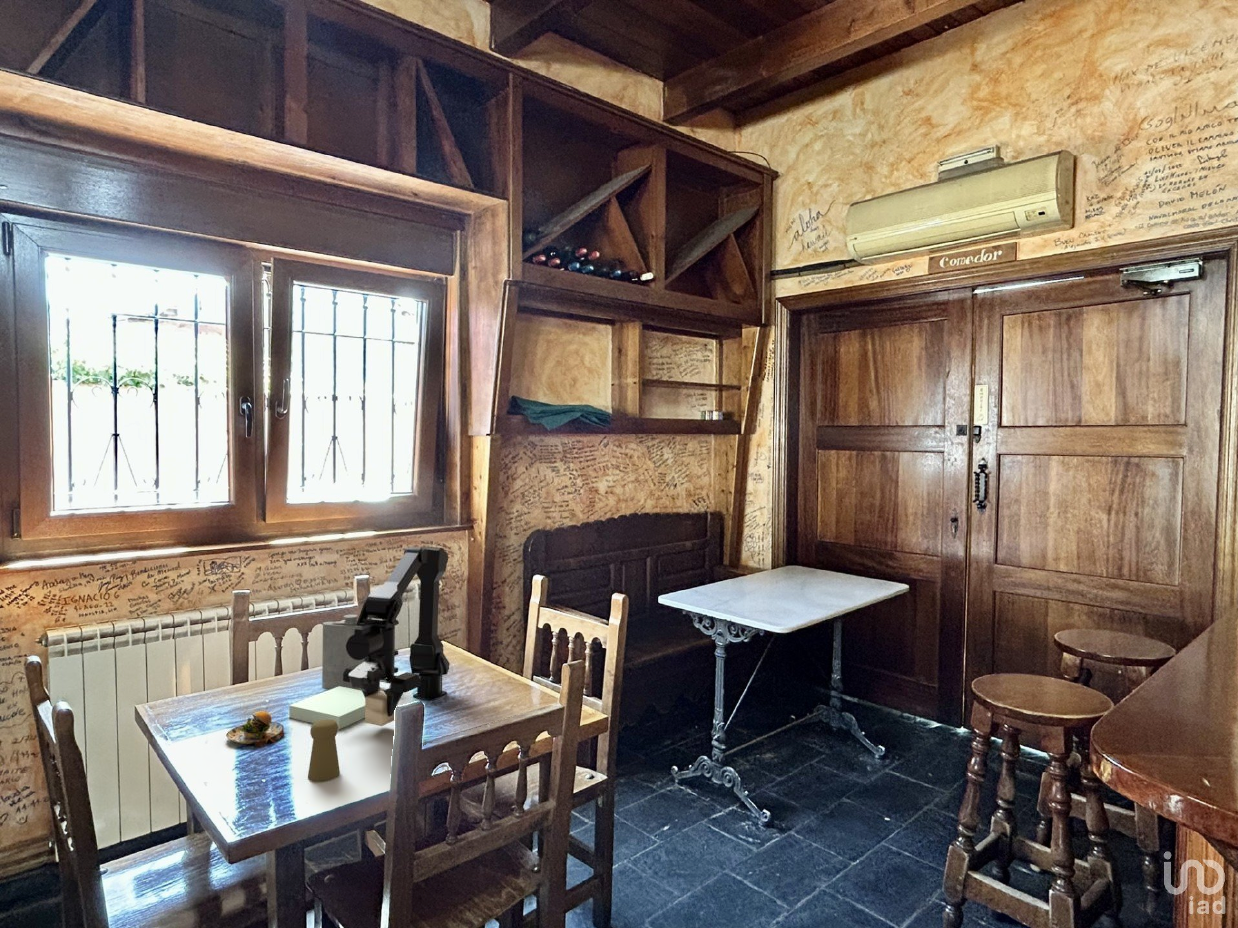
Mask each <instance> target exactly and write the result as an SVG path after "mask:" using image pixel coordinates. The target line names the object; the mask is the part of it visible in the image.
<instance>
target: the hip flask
mask: <svg viewBox="0 0 1238 928" xmlns="http://www.w3.org/2000/svg"><path fill="white" fill-rule="evenodd" d="M358 618H359V615H358V614H346V615H343V621H341V620H340V621H325V622H323V623H322V657H321V658H322V663H321V664H322V665H321V666H322V667H321V668H322V669H321V670H322V673H321V674H322V675H321V676H322V677H321V679H322V680H321V685H322V686H321V688H323V689H328V690H331V689H333V688H336V687H338V686H341V687H346V688H351V689H356V690H360V689H359V688H357V687H355V688H354V687H352V685H351V683H350V682H345V681H343V673H344V671H345V669H346V668H349V667H351V666H354V665H357V664H362V663H363V662H364V659H362V660H355V659H353V658H351V657H350V656H349V655H348V653H347V650H346V643H347V641H348V639H349V638H350V637H351V636H352V635H354V630H355V629H356V628H360V627H362V626H356V624H357V621H358ZM380 688H381V682H380V681H379V688H378V690H379V689H380Z"/></svg>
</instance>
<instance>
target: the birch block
mask: <svg viewBox="0 0 1238 928" xmlns="http://www.w3.org/2000/svg"><path fill="white" fill-rule="evenodd" d="M394 721H395V720H394V713H393V715H392V716H390V717H389V716H388V712H387V695H386V694H385V693H384V690H378V692H376V693H374V694H371V695H369V696H366V697H365V718H364V722H365V723H366V724H370V725H373V726H379V727H383V726H386V725H387V724H389V723H392V722H394Z"/></svg>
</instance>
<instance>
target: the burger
mask: <svg viewBox="0 0 1238 928" xmlns="http://www.w3.org/2000/svg"><path fill="white" fill-rule="evenodd" d="M268 706H269V705H267V706H266V708H265V711H264V710H261V711H255V712H254V713H252V717H253V718H251V717H248V718H247V721H246V722H245V723H244V724H241V725H237V726H235V727H234V728H232V729H230V730H229V731H228V732H227V733H226V734H225V736H226V737H227V739H228V740H230V741H232V742H234V743H237V744H243V745H244V744H245V745H247V744H249V745H250V744H254V745H255V748H261V747H265V746H266V745H267V743H268V740H270V742H272V743H277V741H280V739H281V738H282V736H285V731H284V728H285V727H284V725H283V724H282V723H279V722H276V721H272V720H273V719H272V716H271V714H270V713H269V712H267V709H268Z"/></svg>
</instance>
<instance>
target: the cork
mask: <svg viewBox="0 0 1238 928" xmlns="http://www.w3.org/2000/svg"><path fill="white" fill-rule="evenodd" d="M338 731H339V729H338V724H337V723H336V721H334V720H331V719H324V720H319V721H317V722H315V723H312V725H311V727H310V734H309V735H310V736H311V738H312V747H311V752H310V753H311V754H310V759H309V766H308V772H307V773H308V774H307V779H308V780H309V782H314V783H323V782H324V783H325V782H330V781H332V780H334V779H336V778H338V777H339V776H340V774H341V771H340V764H339V756H338V749H337V748H338V747H337V741H336V740H337V739H336V736H337V735H338Z"/></svg>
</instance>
